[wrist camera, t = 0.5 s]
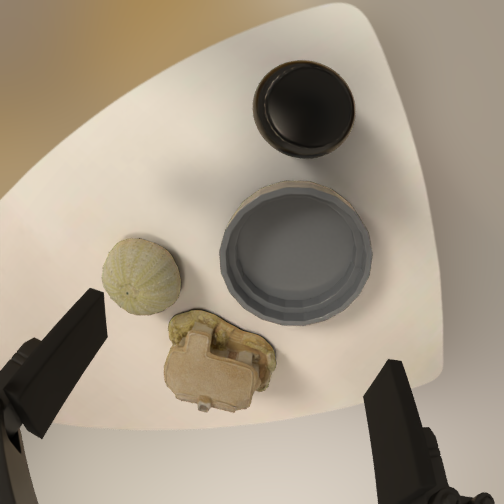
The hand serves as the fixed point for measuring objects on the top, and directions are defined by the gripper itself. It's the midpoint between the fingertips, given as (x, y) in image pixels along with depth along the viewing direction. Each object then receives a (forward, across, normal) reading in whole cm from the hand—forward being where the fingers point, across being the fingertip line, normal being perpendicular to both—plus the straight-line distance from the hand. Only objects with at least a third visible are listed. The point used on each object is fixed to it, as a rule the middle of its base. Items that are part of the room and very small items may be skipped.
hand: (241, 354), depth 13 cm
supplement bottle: (+20, 0, +10) cm, 22 cm away
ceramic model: (+19, -2, -19) cm, 27 cm away
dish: (+19, +4, -3) cm, 20 cm away
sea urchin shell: (+19, -12, -10) cm, 25 cm away
